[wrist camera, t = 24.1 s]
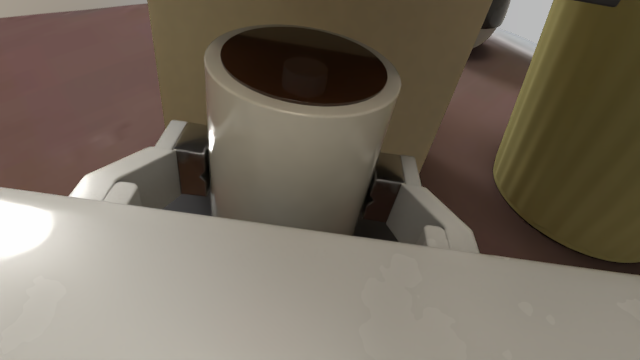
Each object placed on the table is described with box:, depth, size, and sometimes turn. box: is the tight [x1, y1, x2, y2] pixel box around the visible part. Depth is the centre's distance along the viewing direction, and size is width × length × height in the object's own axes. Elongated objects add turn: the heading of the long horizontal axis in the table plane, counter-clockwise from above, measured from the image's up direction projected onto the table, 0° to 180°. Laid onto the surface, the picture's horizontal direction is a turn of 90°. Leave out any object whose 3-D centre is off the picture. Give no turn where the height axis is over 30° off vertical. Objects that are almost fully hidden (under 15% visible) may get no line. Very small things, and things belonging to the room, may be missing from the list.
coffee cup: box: [204, 24, 401, 236], centre depth 13 cm, size 5×5×9 cm
